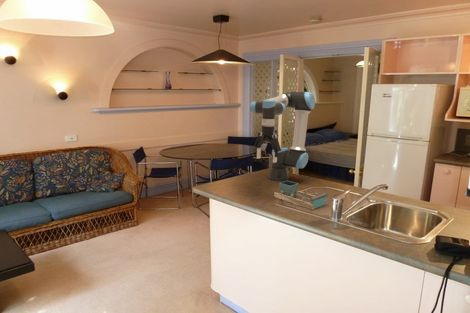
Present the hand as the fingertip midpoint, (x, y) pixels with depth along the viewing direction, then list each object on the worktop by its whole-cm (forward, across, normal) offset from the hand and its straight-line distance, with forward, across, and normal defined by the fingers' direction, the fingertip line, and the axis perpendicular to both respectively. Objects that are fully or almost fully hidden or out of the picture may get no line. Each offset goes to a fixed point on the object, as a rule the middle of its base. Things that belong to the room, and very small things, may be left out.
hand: (266, 160), depth 205 cm
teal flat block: (+23, +32, +12) cm, 41 cm away
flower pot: (+23, +10, +11) cm, 27 cm away
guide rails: (+23, +19, +11) cm, 32 cm away
